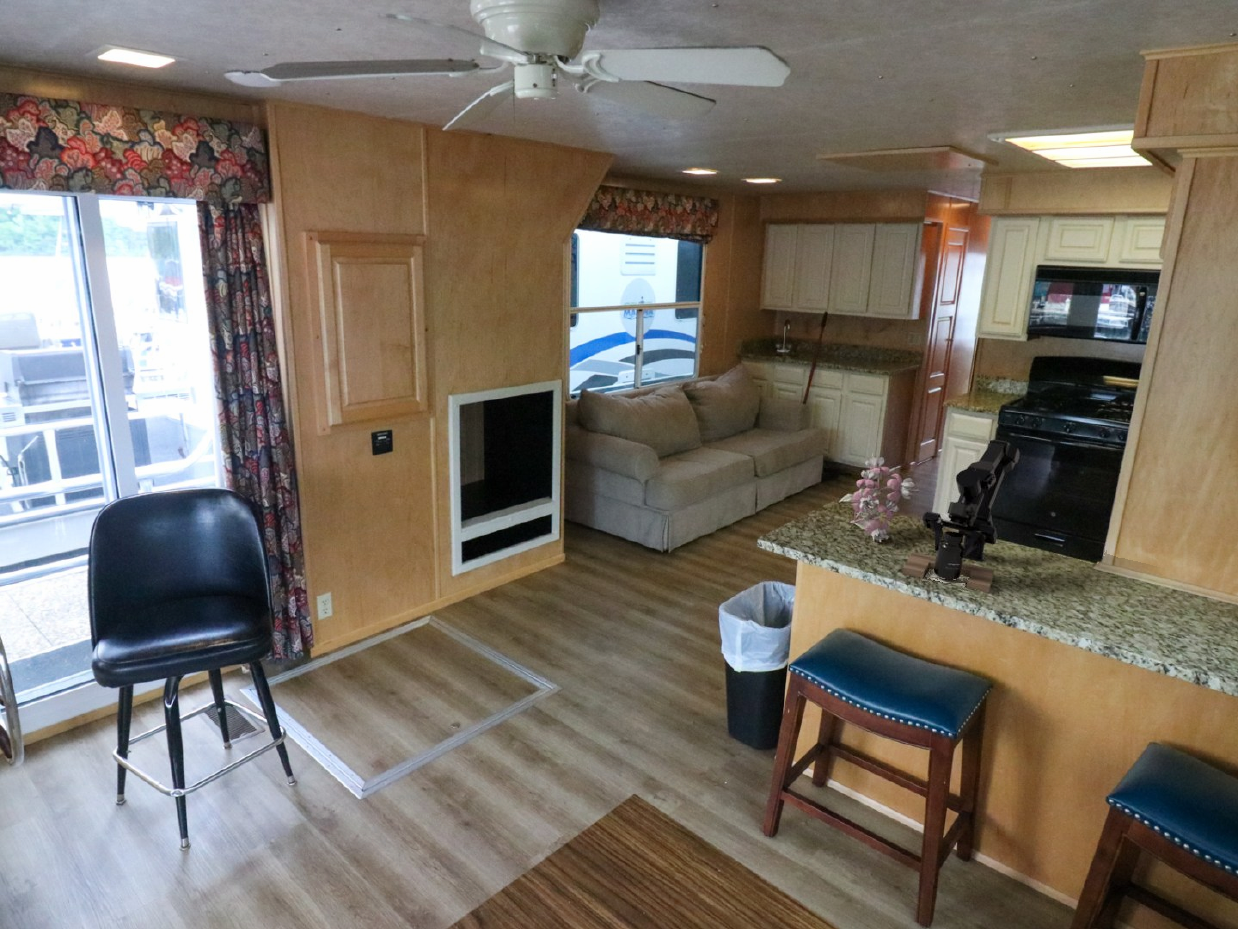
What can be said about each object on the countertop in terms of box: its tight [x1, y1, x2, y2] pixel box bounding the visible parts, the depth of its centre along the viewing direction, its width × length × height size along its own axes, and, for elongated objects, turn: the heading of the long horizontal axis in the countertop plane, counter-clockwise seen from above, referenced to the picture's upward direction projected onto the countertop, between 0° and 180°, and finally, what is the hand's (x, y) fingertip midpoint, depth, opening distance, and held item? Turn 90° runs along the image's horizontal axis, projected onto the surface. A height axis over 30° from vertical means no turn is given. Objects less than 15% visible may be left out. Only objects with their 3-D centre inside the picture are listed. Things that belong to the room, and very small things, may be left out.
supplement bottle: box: [934, 530, 965, 579], centre depth 209 cm, size 7×7×12 cm
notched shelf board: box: [901, 551, 996, 594], centre depth 214 cm, size 14×22×2 cm, turn 60°
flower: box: [838, 452, 920, 543], centre depth 243 cm, size 20×22×25 cm
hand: (949, 553), depth 208 cm, fingers closed on supplement bottle, 7 cm apart
